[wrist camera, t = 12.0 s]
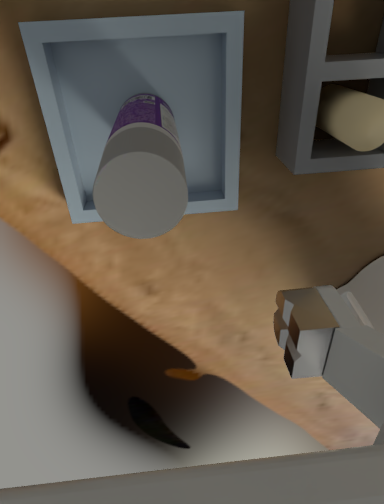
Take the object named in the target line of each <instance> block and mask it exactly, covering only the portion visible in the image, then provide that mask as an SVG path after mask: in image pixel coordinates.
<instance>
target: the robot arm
mask: <svg viewBox="0 0 384 504" xmlns="http://www.w3.org/2000/svg"><path fill="white" fill-rule="evenodd" d="M276 304H277V306H278V310H277V311H276V312H275V313H274V321H273V323H274V332H275V336H276V340H277V342H278V345H279V346H280V347H281V348H283V349H284V350H285V352H284V361H285V363H286V366H287V368H288V371H289V373H290V376H291V378H292V379H293V378H306V377H319V376H323V379H324V380H326V381H327V382H328V383H329V384H330V385H331V386H332V387H334V388H335V389H336V390H337V391H338V392H339V393H340V394H341V395H343V396H344V397H345V398H346V399H347V400H348V401H349V402H350V403H352V404H353V405H354V406H355V407H356V408H357V409H358V410H360V411H361V412H362V413H363V414H364V415H365V416H366V417H367V418H369V419H370V420H371V421H372V422H373V423H374V424H375V425H377V426H378V427H379V428H380V431H379V433H378V435H377V437H376V439H375V442H374V444H373V445H371V446H362V447H354V448H345V449H336V450H328V451H320V452H311V453H302V454H294V455H285V456H277V457H268V458H259V459H251V460H242V461H234V462H225V463H217V464H208V465H200V466H192V467H182V468H175V469H165V470H157V471H148V472H140V473H131V474H123V475H115V476H106V477H97V478H89V479H81V480H72V481H63V482H55V483H47V484H38V485H30V486H21V487H12V488H4V489H0V504H384V256H382V257H380V258H378V259H377V260H375V261H373V262H372V263H370V264H369V265H368V266H366V267H365V268H364V269H363V270H362V271H360V272H359V273H358V274H357V275H356V276H355V277H354V278H353V279H352V280H351V281H350V282H349V283H347V284H346V285H344V286H342V287H340V288H338V289H337V290H336V289H335V287H333V286H332V285H325V286H316V287H313V288H312V287H310V288H300V289H290V290H280V291H278V292H277V295H276Z"/></svg>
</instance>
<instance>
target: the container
mask: <svg viewBox="0 0 384 504" xmlns="http://www.w3.org/2000/svg"><path fill="white" fill-rule="evenodd" d="M93 201H94V205H95V208H96V210H97V213H98V214H99V216H100V217H101V219H102V220H103V221H104V222H105V223H106V224H107V225H108V226H109V227H110V228H111V229H113V230H114V231H116V232H118V233H120V234H122V235H124V236H127V237H132V238H138V239H146V238H153V237H157V236H160V235H162V234H164V233H166V232H168V231H170V230H171V229H172V228H174V227H175V226H176V225H177V224H178V223H179V221H180V220H181V219H182V217H183V215H184V213H185V211H186V208H187V204H188V189H187V182H186V175H185V168H184V161H183V155H182V150H181V146H180V141H179V137H178V133H177V128H176V124H175V120H174V116H173V113H172V110H171V109H170V107H169V105H168V104H167V103H166V102H165V101H164V100H163V99H162V98H160V97H159V96H157V95H154V94H151V93H139V94H136V95H133V96H132V97H130V98H129V99H127V100H126V101H125V102H124V104H123V105H122V107H121V109H120V111H119V113H118V116H117V118H116V121H115V123H114V126H113V128H112V130H111V133H110V135H109V138H108V140H107V143H106V145H105V148H104V151H103V155H102V158H101V161H100V165H99V168H98V171H97V174H96V178H95V181H94V185H93Z"/></svg>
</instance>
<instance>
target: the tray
mask: <svg viewBox="0 0 384 504" xmlns="http://www.w3.org/2000/svg"><path fill="white" fill-rule="evenodd" d="M18 24H19V28H20V31H21V35H22V39H23V42H24V46H25V50H26V54H27V57H28V61H29V65H30V68H31V72H32V76H33V79H34V83H35V87H36V90H37V94H38V98H39V102H40V105H41V109H42V113H43V116H44V120H45V124H46V127H47V131H48V135H49V139H50V142H51V146H52V150H53V153H54V157H55V161H56V164H57V168H58V172H59V175H60V179H61V183H62V187H63V190H64V194H65V198H66V201H67V205H68V209H69V212H70V216H71V220H72V223H73V224H75V223H87V222H99V221H103V220H102V219H101V217H100V216H99V214H98V213H97V210H96V208H95V205H94V201H93V185H94V181H95V178H96V174H97V171H98V168H99V165H100V161H101V158H102V155H103V151H104V148H105V145H106V143H107V140H108V138H109V135H110V133H111V130H112V128H113V126H114V123H115V121H116V118H117V116H118V113H119V111H120V109H121V107H122V105H123V104H124V102H125V101H126V100H127V99H129V98H130V97H132V96H133V95H136V94H139V93H151V94H154V95H157V96H159V97H160V98H162V99H163V100H164V101H165V102H166V103H167V104H168V105H169V107H170V109H171V110H172V113H173V116H174V120H175V124H176V128H177V133H178V137H179V141H180V146H181V150H182V155H183V161H184V168H185V175H186V182H187V189H188V204H187V208H186V211H185V213H184V214H195V213H207V212H219V211H231V210H238V190H239V159H240V128H241V98H242V67H243V36H244V11H227V12H208V13H189V14H169V15H150V16H131V17H112V18H92V19H73V20H54V21H35V22H18Z"/></svg>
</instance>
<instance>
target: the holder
mask: <svg viewBox="0 0 384 504" xmlns="http://www.w3.org/2000/svg"><path fill="white" fill-rule="evenodd" d="M333 4H334V0H290V5H289V15H288V26H287V37H286V48H285V59H284V70H283V81H282V92H281V103H280V114H279V125H278V136H277V147H276V156H277V158H278V159H279V160H280V161H281V162H282V163H283V164H284V165H285V166H286V167H287V168H288V169H289V170H290V171H291V172H292V173H293V174H294V175H298V174H310V173H323V172H336V171H349V170H361V169H374V168H384V16H383V20H382V25H381V29H380V34H379V39H378V43H377V48H376V52H374V53H357V54H340V55H326V51H327V44H328V38H329V31H330V24H331V17H332V11H333ZM355 79H370V80H369V84H368V89H367V94H365V93H362V92H359V91H356V90H352V89H349V88H346V87H343V86H340V85H336V84H332V85H327V86H325V87H323V88H321V85H322V82H323V81H339V80H355ZM315 126H317V127H319V128H320V129H322V130H323V131H325V132H327V133H328V134H330V135H332V136H333V137H335V138H334V139H320V140H313V138H314V132H315Z"/></svg>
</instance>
